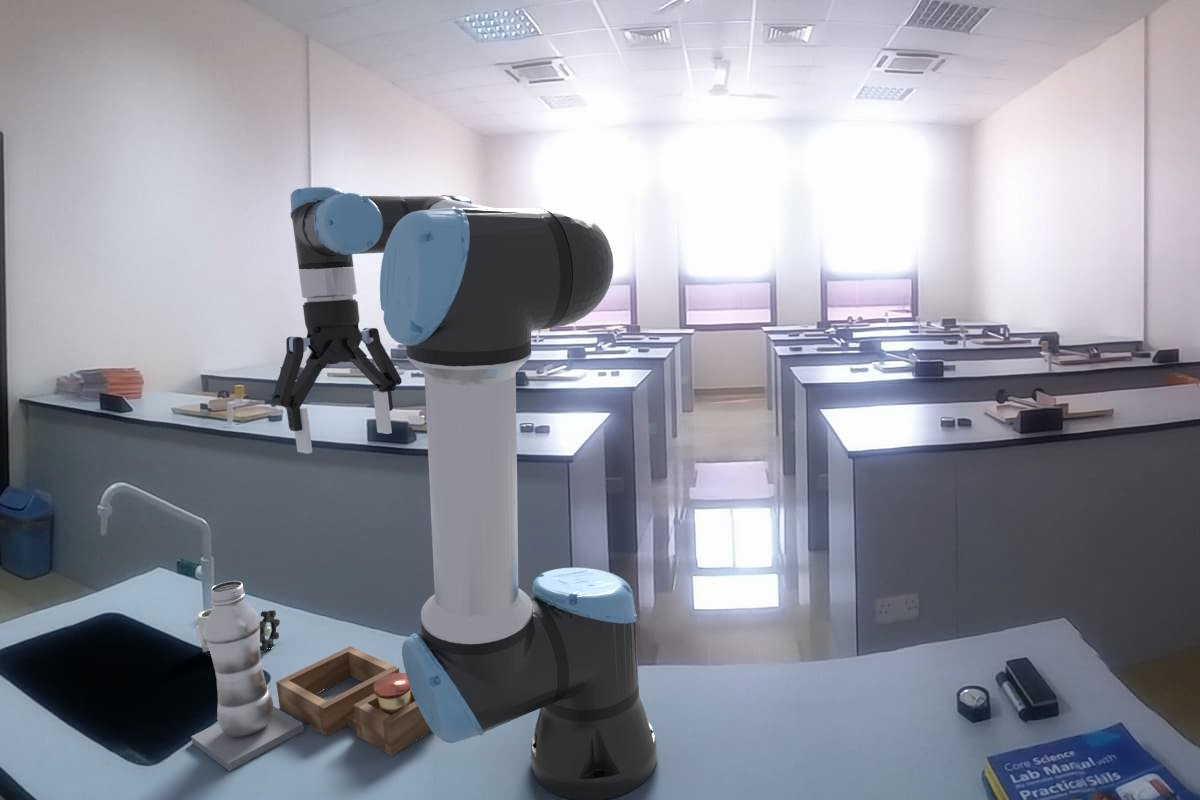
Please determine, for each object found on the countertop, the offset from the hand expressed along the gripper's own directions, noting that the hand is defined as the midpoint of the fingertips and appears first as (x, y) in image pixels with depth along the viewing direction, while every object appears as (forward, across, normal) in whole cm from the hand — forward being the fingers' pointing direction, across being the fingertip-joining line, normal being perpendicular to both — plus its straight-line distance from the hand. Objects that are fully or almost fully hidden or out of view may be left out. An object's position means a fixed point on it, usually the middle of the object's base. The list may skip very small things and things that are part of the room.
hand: (346, 442), depth 115 cm
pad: (+35, +22, +4) cm, 41 cm away
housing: (+35, +10, +12) cm, 38 cm away
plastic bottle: (+34, +22, +4) cm, 40 cm away
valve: (+35, +11, -22) cm, 43 cm away
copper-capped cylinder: (+34, +10, +20) cm, 41 cm away
